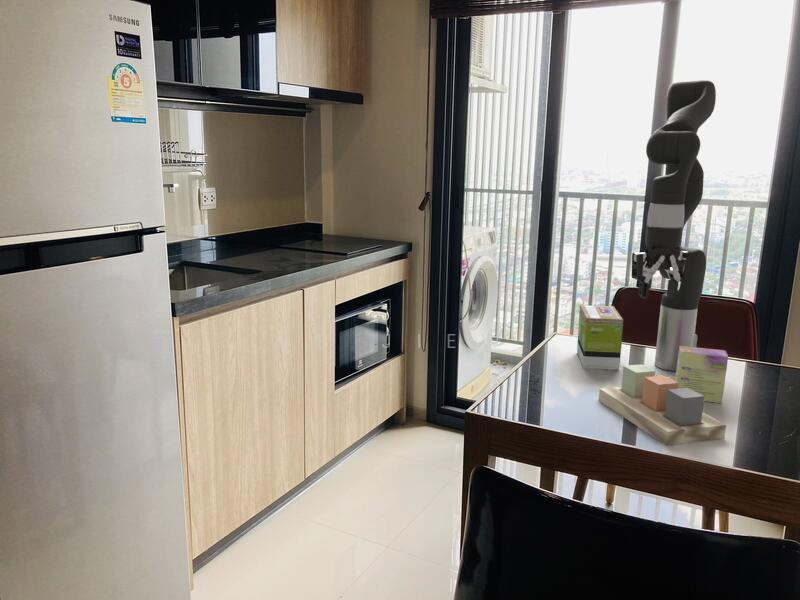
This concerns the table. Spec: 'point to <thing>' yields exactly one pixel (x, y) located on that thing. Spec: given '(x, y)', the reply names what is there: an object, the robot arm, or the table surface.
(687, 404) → the grey block
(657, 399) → the button terracotta
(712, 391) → the box
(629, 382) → the button sage
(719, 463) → the table surface
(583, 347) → the tea box
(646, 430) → the light wooden board
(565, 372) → the table surface
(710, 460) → the table surface
